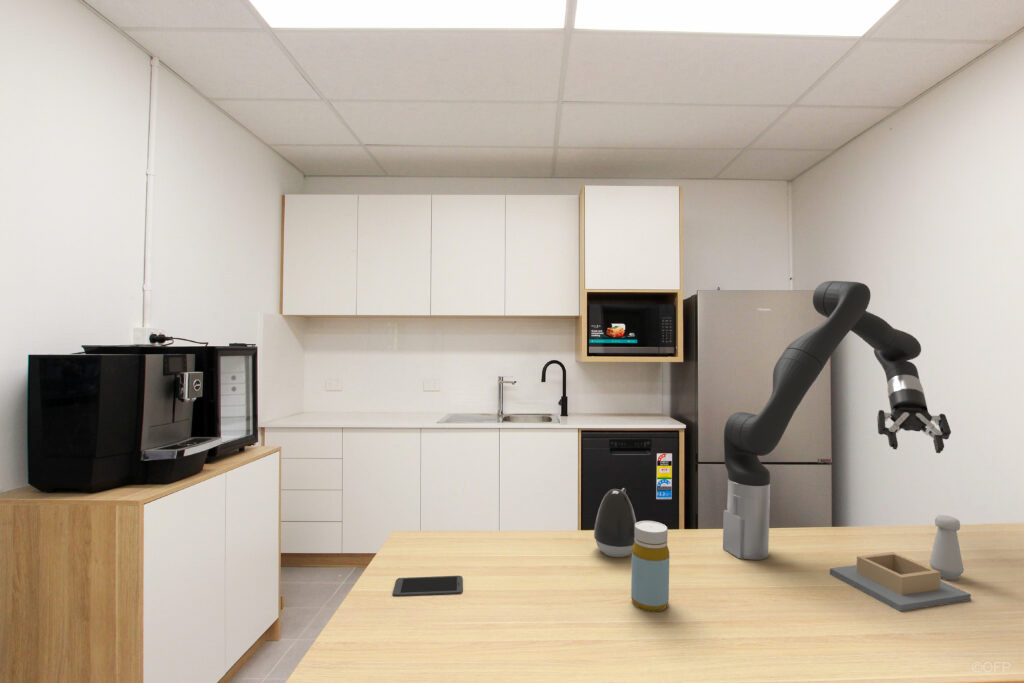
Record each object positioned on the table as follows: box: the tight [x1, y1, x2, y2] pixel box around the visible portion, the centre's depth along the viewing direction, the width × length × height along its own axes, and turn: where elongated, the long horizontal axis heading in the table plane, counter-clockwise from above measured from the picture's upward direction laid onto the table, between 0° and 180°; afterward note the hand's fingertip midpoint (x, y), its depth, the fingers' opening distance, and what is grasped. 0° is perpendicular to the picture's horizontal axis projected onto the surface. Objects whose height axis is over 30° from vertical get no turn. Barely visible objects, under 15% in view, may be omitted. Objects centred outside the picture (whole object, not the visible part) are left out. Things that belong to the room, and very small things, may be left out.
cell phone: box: [392, 575, 464, 598], centre depth 109 cm, size 7×14×1 cm, turn 96°
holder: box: [829, 551, 972, 612], centre depth 111 cm, size 18×16×5 cm
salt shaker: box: [929, 514, 965, 581], centre depth 116 cm, size 6×6×13 cm
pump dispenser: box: [593, 487, 637, 558], centre depth 126 cm, size 10×10×15 cm
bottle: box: [630, 520, 670, 612], centre depth 103 cm, size 7×7×15 cm
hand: (917, 449), depth 128 cm, fingers open, 8 cm apart
